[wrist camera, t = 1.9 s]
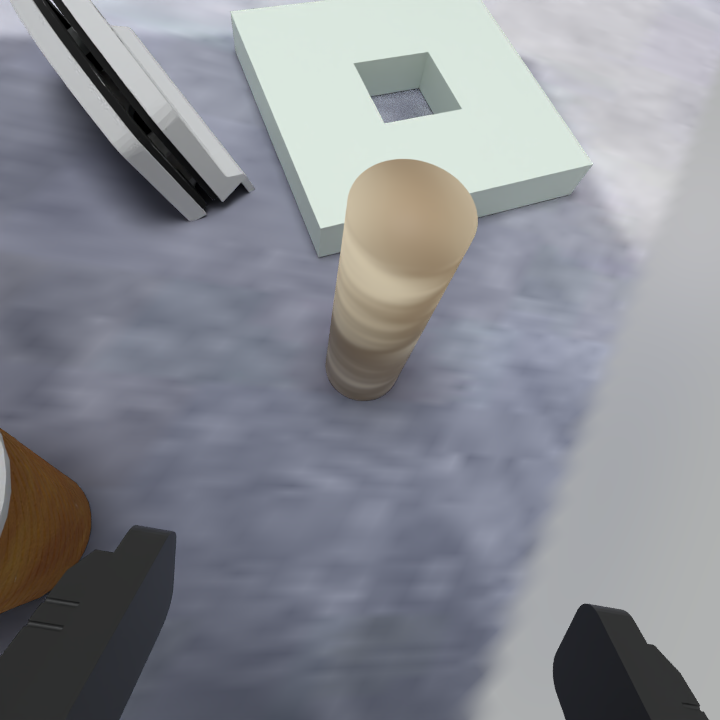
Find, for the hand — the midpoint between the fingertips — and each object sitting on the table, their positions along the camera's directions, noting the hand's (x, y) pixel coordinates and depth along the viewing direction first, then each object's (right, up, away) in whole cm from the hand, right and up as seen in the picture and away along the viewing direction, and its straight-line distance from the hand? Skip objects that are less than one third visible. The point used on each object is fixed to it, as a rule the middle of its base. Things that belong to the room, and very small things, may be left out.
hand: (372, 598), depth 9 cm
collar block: (+3, +23, +27) cm, 36 cm away
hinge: (-15, +20, +24) cm, 35 cm away
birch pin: (0, +4, +19) cm, 20 cm away
